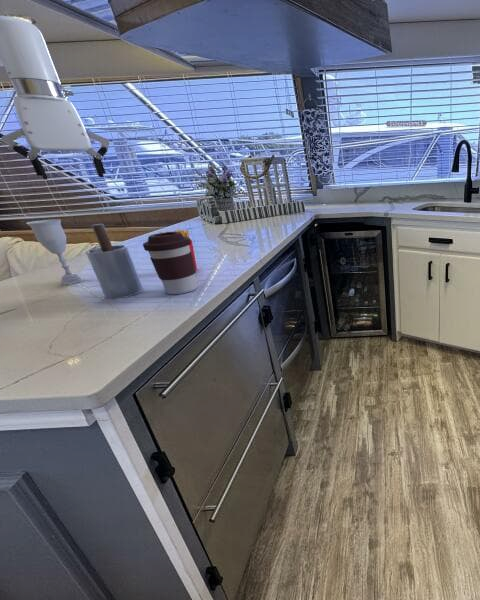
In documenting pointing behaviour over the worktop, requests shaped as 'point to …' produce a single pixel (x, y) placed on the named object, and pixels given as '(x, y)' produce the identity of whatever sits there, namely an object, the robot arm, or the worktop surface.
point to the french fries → (189, 245)
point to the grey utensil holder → (115, 271)
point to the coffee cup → (172, 261)
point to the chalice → (54, 244)
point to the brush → (102, 237)
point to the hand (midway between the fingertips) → (74, 178)
